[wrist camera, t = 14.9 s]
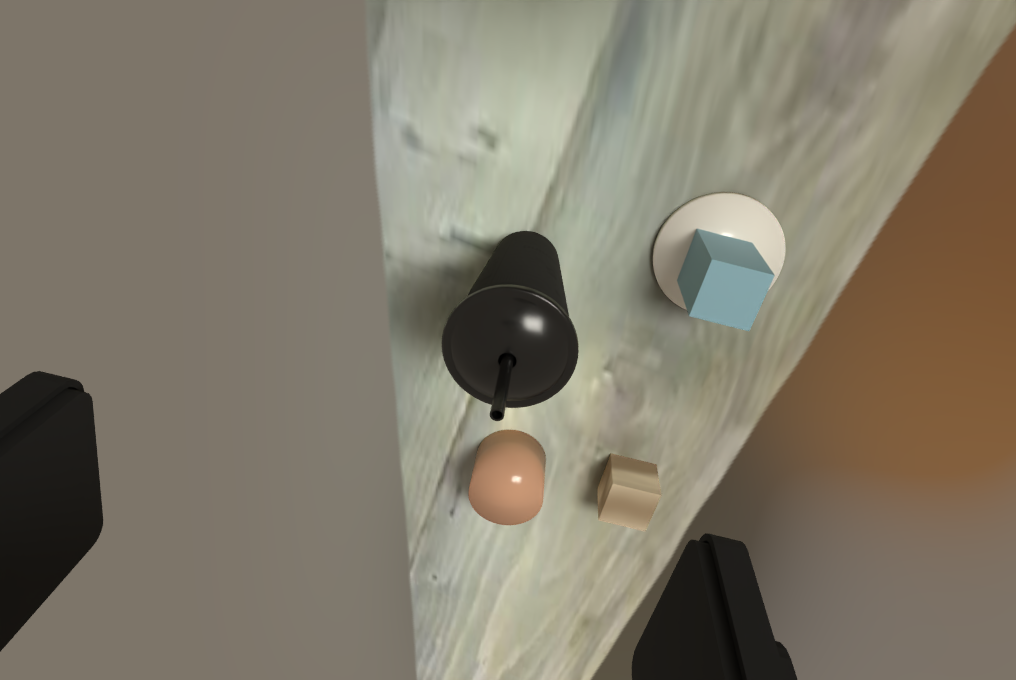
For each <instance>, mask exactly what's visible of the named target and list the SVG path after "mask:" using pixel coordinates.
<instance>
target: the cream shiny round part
mask: <svg viewBox="0 0 1016 680" xmlns="http://www.w3.org/2000/svg"><path fill="white" fill-rule="evenodd" d="M696 229H701V230H705V231H709V232H713V233H716V234H720V235H724V236H728V237H732V238H736V239H740V240H744V241H748V242H752V243H753V244H754V246H755V247H756V249H757V250H758V252H759V253H760V254H761V256H762V257H763V259H764V260H765V262H766V263H767V265H768V266H769V268H770V269H771V270H772V272H773V273H774V275H775V276H774V278H773V280H772V283H771V285H770V287H769V289H770V288H771V286H772V285H773V284H774V282H775V281H776V279H777V277H778V275H779V274H780V271H781V269H782V266H783V262H784V258H785V239H784V234H783V231H782V228H781V226H780V224H779V222H778V221H777V219H776V218H775V216H774V215H773V214H772V213H771V211H770V210H769V209H768V208H766V207H765V206H764V205H763V204H762V203H760V202H759V201H757V200H755V199H753V198H751V197H749V196H746V195H743V194H739V193H733V192H717V193H711V194H706V195H703V196H700V197H697V198H695V199H693V200H691V201H689V202H687V203H685V204H684V205H682V206H681V207H680V208H678V209H677V210H676V211H675V212H674V213H673V214H672V215H671V216H670V217H669V218H668V219H667V220H666V222H665V223H664V224H663V226H662V228H661V229H660V231H659V233H658V235H657V238H656V241H655V244H654V249H653V268H654V272H655V276H656V279H657V282H658V284H659V286H660V288H661V289H662V291H663V292H664V293H665V295H666V296H667V297H668V298H669V299H670V300H671V301H673V302H674V303H675V304H676V305H678V306H680V307H681V308H683V309H686V306H685V303H684V300H683V297H682V294H681V291H680V288H679V285H678V282H677V279H678V276H679V273H680V271H681V268H682V266H683V263H684V260H685V258H686V255H687V253H688V250H689V247H690V245H691V242H692V240H693V237H694V234H695V232H696ZM769 289H768V290H769ZM686 310H687V309H686Z"/></svg>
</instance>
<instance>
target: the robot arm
mask: <svg viewBox="0 0 1016 680" xmlns="http://www.w3.org/2000/svg"><path fill="white" fill-rule="evenodd" d="M102 526H103V513H102V502H101V491H100V480H99V468H98V457H97V446H96V435H95V425H94V413H93V401H92V397H91V396H90V394H89V393H86V392H84V389H83V385H82V384H81V383H80V382H79V381H77V380H74V379H70V378H66V377H62V376H57V375H53V374H49V373H45V372H41V371H38V372H33V373H31V374H29V375H27V376H25V377H24V378H22V379H21V380H20V381H18V382H17V383H15V384H14V385H12V386H11V387H10V388H8V389H7V390H5V391H4V392H2V393H1V394H0V651H1V650H2V649H3V648H4V647H5V646H6V645H7V643H8V642H9V641H10V640H11V639H12V638H13V637H14V635H15V634H16V633H17V632H18V631H19V630H20V629H21V627H22V626H23V625H24V624H25V623H26V622H27V620H28V619H29V618H30V617H31V616H32V615H33V614H34V613H35V611H36V610H37V609H38V608H39V607H40V606H41V605H42V603H43V602H44V601H45V600H46V599H47V598H48V596H49V595H50V594H51V593H52V592H53V591H54V590H55V589H56V587H57V586H58V585H59V584H60V583H61V582H62V581H63V579H64V578H65V577H66V576H67V575H68V574H69V573H70V571H71V570H72V569H73V568H74V567H75V566H76V565H77V563H78V562H79V561H80V560H81V559H82V558H83V557H84V556H85V554H86V553H87V552H88V551H89V550H90V549H91V547H92V546H93V545H94V544H95V542H96V541H97V539H98V537H99V535H100V533H101V530H102ZM632 680H797V677H796V674H795V671H794V667H793V664H792V661H791V658H790V656H789V654H788V652H787V650H786V648H785V647H784V646H783V645H782V644H781V643H780V642H777V641H775V639H774V636H773V633H772V629H771V626H770V623H769V620H768V616H767V613H766V610H765V606H764V603H763V600H762V597H761V593H760V590H759V586H758V583H757V580H756V576H755V573H754V570H753V567H752V563H751V560H750V557H749V553H748V550H747V548H746V546H745V544H744V543H743V542H741V541H737V540H733V539H729V538H725V537H720V536H716V535H712V534H704V535H703V536H702V537H701V538H700V540H699V541H696V540H690V541H689V542H688V544H687V545H686V547H685V549H684V551H683V553H682V555H681V557H680V559H679V561H678V563H677V565H676V568H675V569H674V571H673V573H672V575H671V577H670V580H669V582H668V584H667V586H666V588H665V590H664V592H663V594H662V596H661V598H660V600H659V602H658V604H657V606H656V608H655V610H654V612H653V614H652V616H651V618H650V620H649V622H648V624H647V626H646V628H645V630H644V632H643V634H642V636H641V638H640V640H639V642H638V644H637V646H636V649H635V651H634V655H633V661H632Z"/></svg>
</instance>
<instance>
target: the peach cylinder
mask: <svg viewBox="0 0 1016 680" xmlns="http://www.w3.org/2000/svg"><path fill="white" fill-rule="evenodd" d="M545 465H546V455H545V452H544V449H543V447H542V446H541V444H540V443H539V442H538V441H537V440H536V439H535V438H533V437H532V436H530V435H529V434H526V433H524V432H521V431H517V430H501V431H497V432H494V433H492V434H490V435H489V436H487V437H486V438H485V439H484V440H483V441H482V442H481V443H480V445H479V447H478V450H477V455H476V459H475V464H474V468H473V473H472V477H471V482H470V486H469V500H470V503H471V505H472V507H473V508H474V510H475V511H476V512H477V513H478V514H479V515H480V516H482V517H483V518H485V519H486V520H488V521H491V522H493V523H497V524H501V525H517V524H521V523H524V522H526V521H528V520H530V519H532V518H533V517H534V516H535V515H536V514H537V513H538V512H539V511H540V509H541V507H542V503H543V493H544V479H545Z"/></svg>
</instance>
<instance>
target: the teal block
mask: <svg viewBox="0 0 1016 680" xmlns="http://www.w3.org/2000/svg"><path fill="white" fill-rule="evenodd" d="M774 276H775V275H774V273H773V272H772V270H771V269H770V268H769V266H768V265H767V263H766V262H765V260H764V259H763V257H762V256H761V254H760V253H759V252H758V250H757V249H756V247H755V246H754V244H753V243H752V242H748V241H744V240H740V239H736V238H732V237H728V236H724V235H720V234H716V233H713V232H709V231H705V230H701V229H696V232H695V234H694V237H693V240H692V242H691V245H690V247H689V250H688V253H687V255H686V258H685V260H684V263H683V266H682V268H681V271H680V273H679V276H678V279H677V282H678V285H679V288H680V291H681V294H682V297H683V300H684V303H685V306H686V309H687V311H688V314H689V316H691V317H695V318H699V319H702V320H706V321H710V322H714V323H718V324H722V325H726V326H730V327H734V328H738V329H742V330H746V331H749V330H750V328H751V326H752V324H753V322H754V319H755V317H756V315H757V313H758V311H759V309H760V306H761V304H762V302H763V300H764V298H765V296H766V293H767V291H768V289H769V287H770V285H771V283H772V280H773V278H774Z"/></svg>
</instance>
